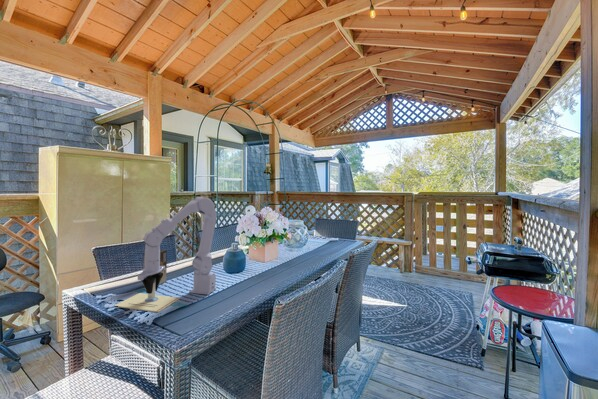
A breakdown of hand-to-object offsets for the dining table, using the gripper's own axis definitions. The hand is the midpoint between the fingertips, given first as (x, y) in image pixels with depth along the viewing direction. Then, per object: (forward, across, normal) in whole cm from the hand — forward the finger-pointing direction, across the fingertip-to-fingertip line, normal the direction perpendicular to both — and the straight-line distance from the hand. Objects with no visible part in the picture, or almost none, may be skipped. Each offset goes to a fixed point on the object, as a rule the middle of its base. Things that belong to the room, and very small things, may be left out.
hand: (151, 291), depth 122 cm
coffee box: (+4, -18, -12) cm, 22 cm away
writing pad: (+4, +2, 0) cm, 4 cm away
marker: (+2, 0, 0) cm, 2 cm away
